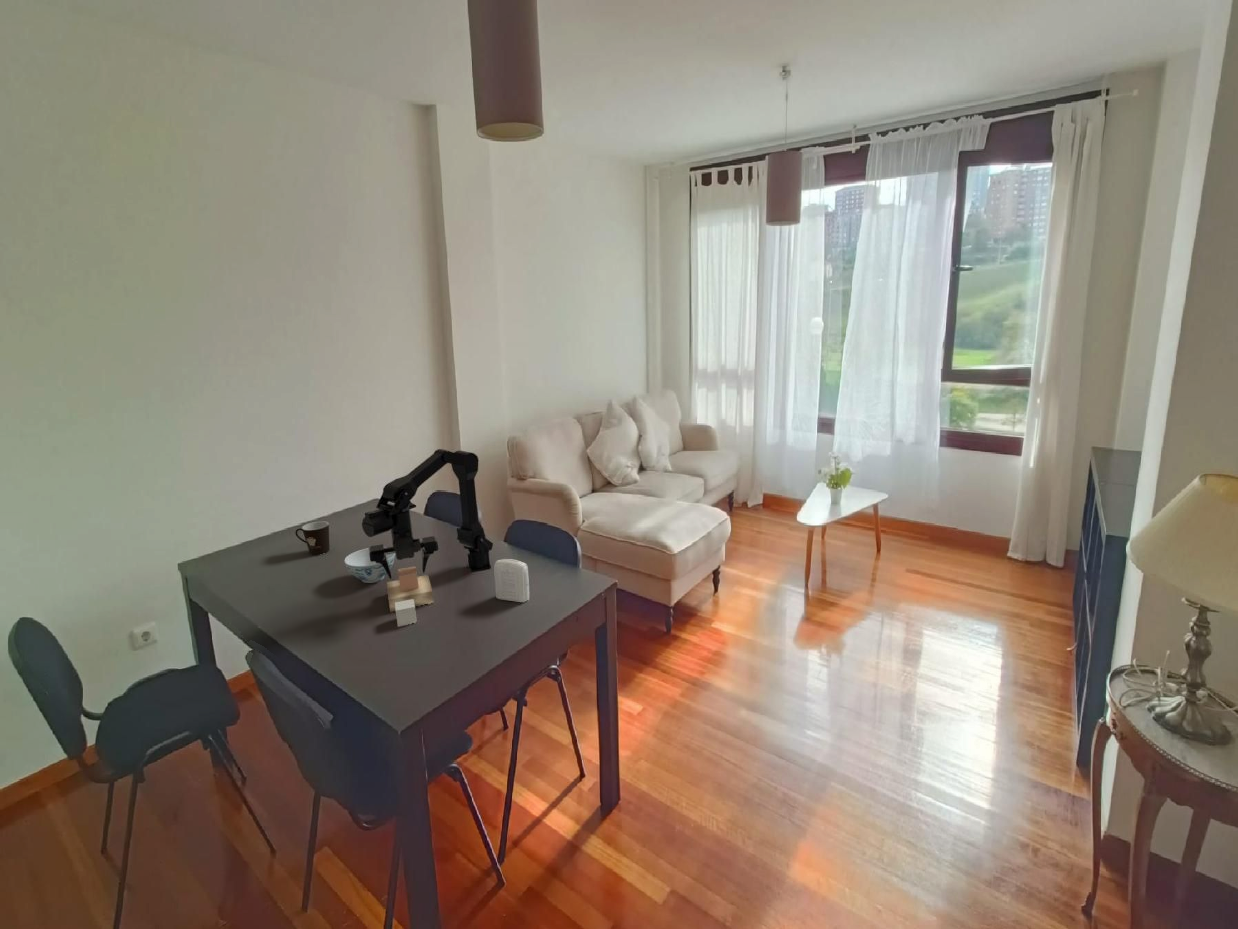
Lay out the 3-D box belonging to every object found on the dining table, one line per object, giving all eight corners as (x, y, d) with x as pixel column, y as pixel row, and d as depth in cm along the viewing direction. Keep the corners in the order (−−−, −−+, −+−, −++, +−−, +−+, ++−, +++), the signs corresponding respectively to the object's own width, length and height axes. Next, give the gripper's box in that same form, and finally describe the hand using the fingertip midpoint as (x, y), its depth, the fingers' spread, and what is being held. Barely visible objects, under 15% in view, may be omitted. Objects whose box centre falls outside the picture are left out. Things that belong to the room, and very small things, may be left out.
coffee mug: (338, 550, 220) (333, 523, 218) (315, 558, 213) (310, 531, 211) (319, 543, 226) (314, 518, 224) (296, 552, 219) (291, 525, 217)
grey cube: (415, 614, 174) (413, 598, 172) (417, 623, 169) (414, 606, 168) (396, 618, 172) (394, 602, 170) (397, 627, 167) (395, 610, 166)
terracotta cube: (417, 581, 185) (415, 566, 183) (418, 588, 180) (416, 572, 179) (399, 584, 183) (397, 569, 182) (400, 591, 178) (398, 576, 177)
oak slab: (429, 586, 190) (427, 574, 189) (433, 603, 179) (432, 591, 178) (388, 594, 186) (386, 582, 185) (390, 612, 175) (388, 599, 174)
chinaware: (385, 564, 207) (382, 543, 205) (406, 577, 197) (403, 555, 195) (340, 579, 197) (336, 556, 195) (359, 593, 187) (355, 570, 185)
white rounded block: (532, 597, 182) (529, 558, 178) (525, 604, 178) (522, 564, 174) (501, 593, 185) (497, 555, 181) (494, 599, 181) (490, 561, 178)
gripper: (366, 540, 166) (374, 593, 170) (437, 529, 173) (443, 580, 177) (366, 527, 176) (373, 577, 180) (433, 517, 183) (438, 565, 187)
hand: (407, 575), depth 181 cm, fingers open, 9 cm apart
